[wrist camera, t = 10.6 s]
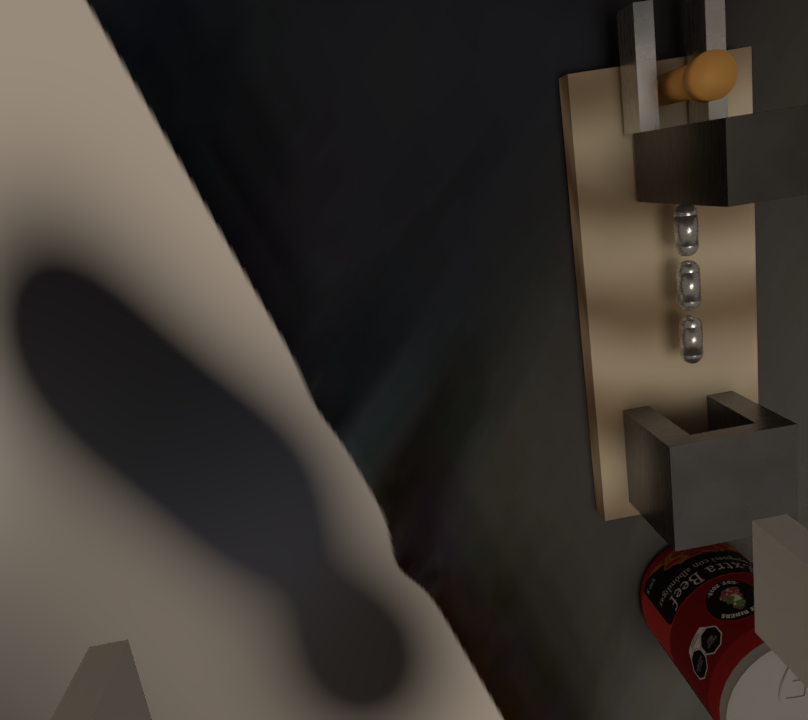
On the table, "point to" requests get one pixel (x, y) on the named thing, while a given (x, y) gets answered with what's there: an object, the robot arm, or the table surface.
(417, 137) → the table surface
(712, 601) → the canned food
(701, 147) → the two-pronged fork block
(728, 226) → the rail board
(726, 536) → the block
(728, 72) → the keeper post
